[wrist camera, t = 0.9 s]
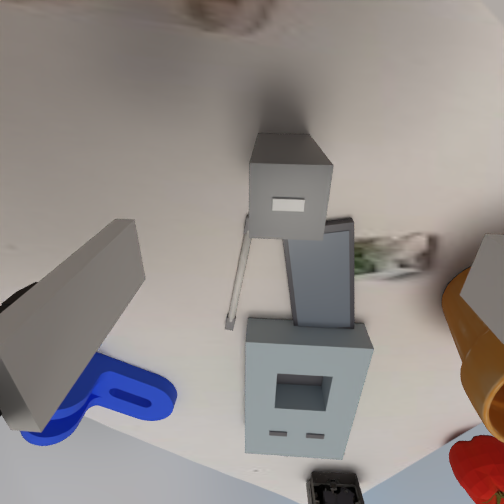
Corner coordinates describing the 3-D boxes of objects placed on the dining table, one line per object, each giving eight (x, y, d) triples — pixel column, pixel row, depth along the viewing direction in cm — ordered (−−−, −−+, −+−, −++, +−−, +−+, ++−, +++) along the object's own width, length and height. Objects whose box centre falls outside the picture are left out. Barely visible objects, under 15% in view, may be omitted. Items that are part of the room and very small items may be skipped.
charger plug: (257, 183, 29) (248, 239, 18) (258, 133, 27) (249, 163, 16) (304, 184, 29) (323, 242, 18) (309, 134, 27) (334, 166, 16)
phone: (294, 329, 38) (295, 336, 37) (281, 227, 31) (281, 231, 30) (352, 325, 37) (354, 331, 36) (351, 218, 30) (354, 222, 29)
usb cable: (233, 326, 38) (232, 330, 37) (225, 324, 38) (224, 329, 37) (256, 216, 31) (256, 219, 30) (247, 214, 31) (246, 217, 30)
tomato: (433, 438, 46) (459, 496, 40) (494, 419, 43) (534, 478, 37) (455, 466, 50) (483, 524, 43) (514, 451, 47) (553, 510, 40)
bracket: (52, 374, 45) (5, 435, 37) (61, 337, 41) (11, 397, 33) (167, 414, 48) (145, 478, 40) (185, 383, 44) (165, 448, 36)
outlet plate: (247, 426, 48) (244, 454, 44) (248, 318, 37) (245, 343, 33) (337, 432, 47) (342, 461, 43) (364, 323, 36) (374, 350, 33)
